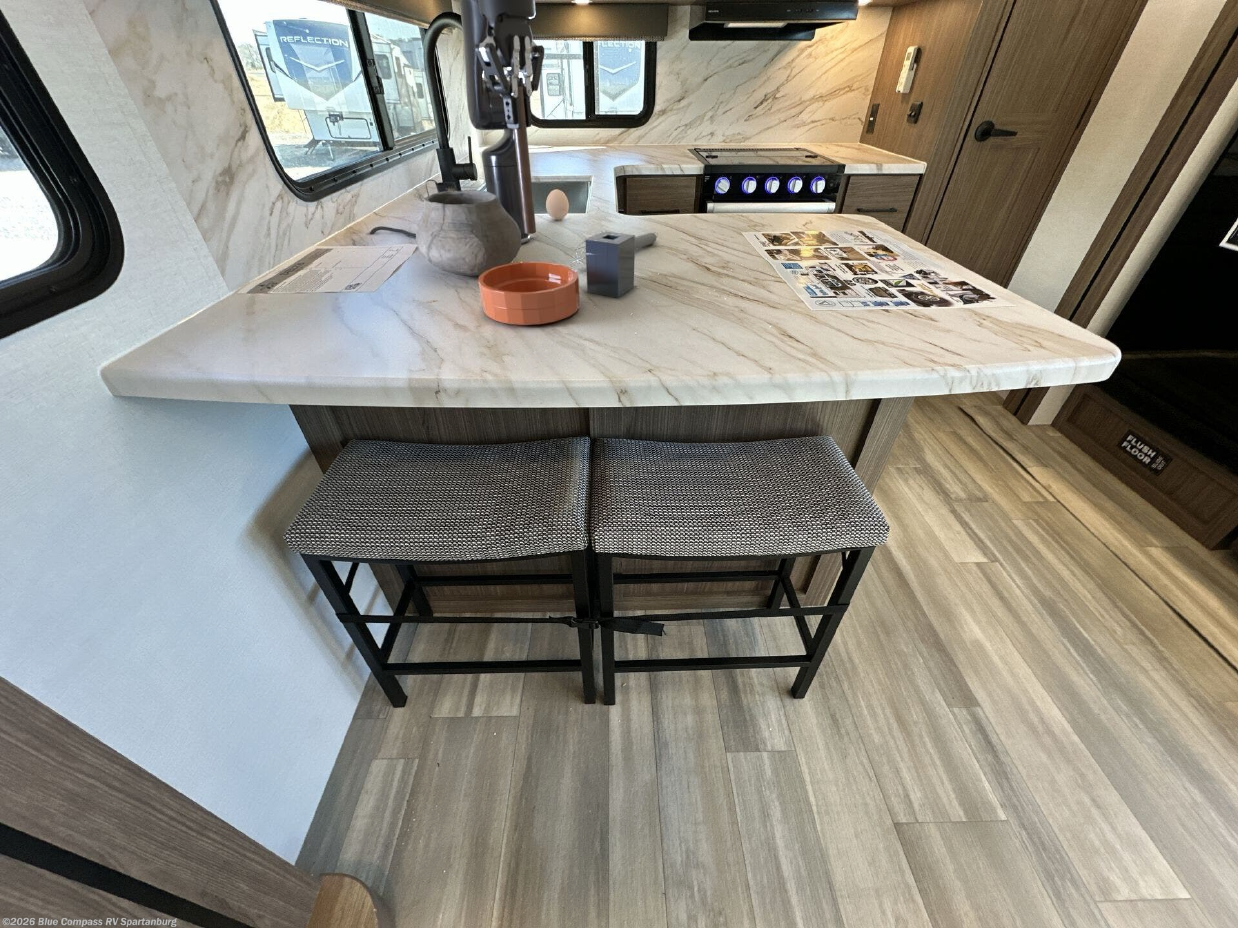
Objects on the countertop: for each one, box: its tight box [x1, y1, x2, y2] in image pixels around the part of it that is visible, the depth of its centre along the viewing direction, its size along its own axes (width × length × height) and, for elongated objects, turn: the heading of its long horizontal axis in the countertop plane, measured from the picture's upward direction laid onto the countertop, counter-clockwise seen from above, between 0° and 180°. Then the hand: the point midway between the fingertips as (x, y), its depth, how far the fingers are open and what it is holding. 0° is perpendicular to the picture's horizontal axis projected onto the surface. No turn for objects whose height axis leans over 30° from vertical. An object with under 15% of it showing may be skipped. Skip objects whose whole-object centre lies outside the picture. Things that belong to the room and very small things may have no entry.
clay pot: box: [415, 189, 522, 277], centre depth 106 cm, size 22×21×15 cm
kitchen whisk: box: [571, 231, 658, 273], centre depth 117 cm, size 6×34×6 cm, turn 147°
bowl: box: [477, 260, 581, 326], centre depth 92 cm, size 18×18×6 cm
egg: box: [545, 189, 570, 221], centre depth 146 cm, size 7×7×8 cm
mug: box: [425, 179, 458, 197], centre depth 137 cm, size 8×6×12 cm
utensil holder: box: [584, 230, 636, 299], centre depth 99 cm, size 7×7×10 cm
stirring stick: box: [513, 87, 537, 235], centre depth 80 cm, size 2×2×20 cm
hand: (519, 127), depth 77 cm, fingers closed on stirring stick, 2 cm apart
